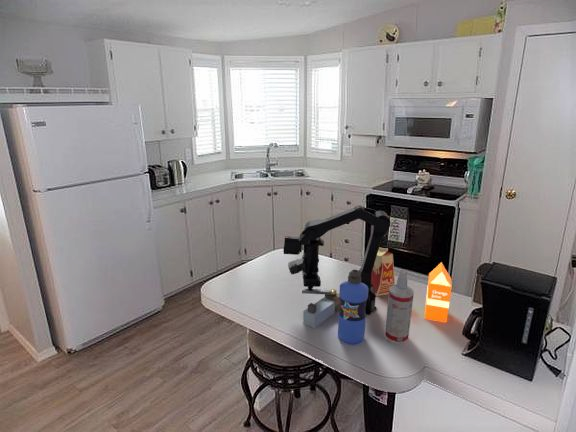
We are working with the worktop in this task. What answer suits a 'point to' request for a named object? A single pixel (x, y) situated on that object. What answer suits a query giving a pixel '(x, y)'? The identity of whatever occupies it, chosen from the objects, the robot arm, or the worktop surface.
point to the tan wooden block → (337, 301)
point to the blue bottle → (352, 309)
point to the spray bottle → (399, 310)
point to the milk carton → (383, 272)
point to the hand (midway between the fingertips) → (309, 290)
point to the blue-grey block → (318, 312)
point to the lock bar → (319, 291)
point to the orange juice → (438, 294)
